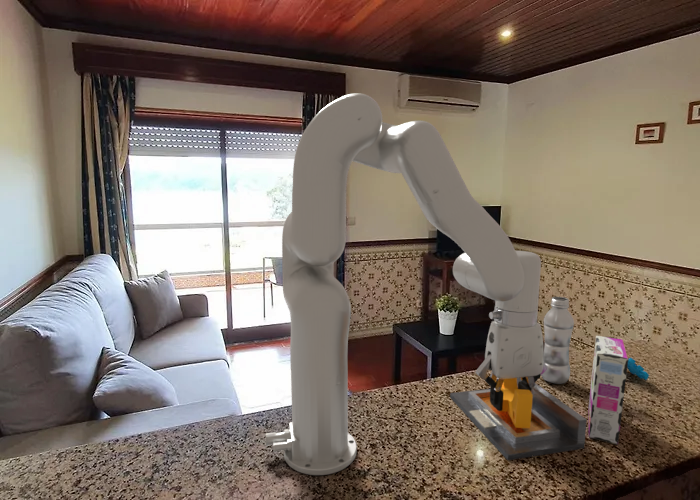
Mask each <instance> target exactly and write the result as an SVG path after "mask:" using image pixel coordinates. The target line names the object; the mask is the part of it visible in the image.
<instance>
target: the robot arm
mask: <svg viewBox="0 0 700 500" xmlns="http://www.w3.org/2000/svg"><path fill="white" fill-rule="evenodd" d="M293 160H294V161H293V168H292V169H293V170H292V191H291V193H292V194H291V212H290V213H289V215H287V217H286V219H285V221H284V224H283V228H282V238H281V247H282V248H281V249H282V250H281V257H282V258H281V259H282V264H281V265H282V269H281V271H282V291H283V297H284V300H285V303H286V305H287V309H288V310H289V315H290V343H289V345H290V348H289V349H290V350H289V351H290V352H289V353H290V357H289V359H290V360H289V361H290V363H289V364H290V382H291V383H290V384H291V387H290V388H291V389H290V391H291V421H292V422H289V423H288V427H289V428H287V429H283V431H279V432H267V433H265V446H266V447H267V446H272V447H273V448H272V449H273V453H274V452H275V453H277V452H282V451H283V457H284V458H283V459H284V460H285V462H286V464H287V465H288V466H289V467H290V468H292V469H293V470H295V471H297V472H298V473H301V474H305V475H308V476H309V475H311V476H325V475H331V474H335V473H337V472H340V471H342V470H344V469H346V468H347V467H349V465H351V464H352V463H353V461H354V460H355V458H356V456H357V454H358V453H357V452H358V451H357V449H358V446H357V441H356V440H355V438H354V437H353V436H352V435H351V433H349V429H348V428H349V427H348V425H349V424H348V423H349V422H348V421H349V414H348V413H349V410H348V408H349V407H348V406H349V405H348V403H349V401H348V396H349V395H348V394H349V393H348V390H349V389H348V386H349V385H348V381H349V380H348V378H349V377H348V370H349V369H348V345H349V344H348V343H349V342H348V341H349V332H350V324H351V323H350V322H351V317H352V316H351V315H352V308H351V301H350V297H349V295H348V293H347V292H348V291H347V290H346V288H345V286H343V284H342V283H341V282H340V281H339V280H338V279H337V278H336V277H335V276H334V263H335V262H336V261H337V260H338V259H339V258H341V256H342V254H343V253H344V250H345V247H346V241H347V231H346V229H347V227H346V223H347V222H346V219H347V218H346V217H347V216H346V215H347V214H346V211H347V210H346V209H347V207H346V205H347V204H346V203H347V202H346V201H347V198H346V197H347V195H346V194H347V183H348V175H349V171H350V167H351V165H352V163H353V162H354V163H357V164H360V165H363V166H366V167H370V168H372V169H376V170H380V171H384V172H387V173H394V174H401V175H402V177H403V179H404V181H405V183H406V184H407V186H408V188H409V190H410V192H411V193H412V195H413V198H414V199H415V201H416V202H417V205H418V206H419V208H420V210H421V212H422V214H423V216H424V217H425V219H426V220H427V221H428V222H429V223H430V224H431V225H432V226H433V227H434V228H436V230H438V231H439V232H441V233H442V234H443V235H445V236H447V237H448V238H450V239H451V240H452V241H454V243H455V244H457V246H458V247H459V248H461V250H462V251H463V253H461V254H460V255H459V256H458V257H456V258H455V261H454V262H453V266H452V275H453V277H454V279H455V280H456V281H457V283H458V284H459V285H460V286H462V287H463V288H465V289H467V290H470V291H471V292H474V293H475V294H479V295H481V296H484V297H485V298H488V299H491V300H493V301H494V302H495V305H494V310H493V311H490V312H489V314H488V317H489V318H490V319H491V320H492V321H491V323H490V326H489V329H488V334H487V339H486V344H485V346H486V347H485V353H484V360H483V362H481V364H480V365H479V366H478V368H477V369H476V370H475V374H476V375H477V376H478V377H479V378H481V379H482V380H483V381H484V382H486V383H487V385H488V386H489V387H490V388H489V389H490V402H491V404H492V405H493V406H494V407H495V408H496V409H497V410H498V411H502V409H503V391H502V390H501V387H502V385H503V382H504V379H512V378H521V381H520V382H519V383H518V389H523V390H530V392H531V389H532V388H533V387H534V386H535V383H536V382H537V381H538V380H539V379H540V378H541V377H542V376H541V375H542V374H543V373H544V372H545V371H546V370H547V369H548V366H547V365H546V364H545V362H544V361H543V355H544V337H543V331H542V330H543V329H542V326H541V324H540V323H539V322H538V314H539V313H538V311H539V301H540V300H539V299H540V298H539V296H540V285H541V270H542V269H541V268H542V259H541V257H540V256H539V254H537V253H535V252H531V251H528V250H527V251H525V250H516V249H515V247H514V245H513V243H512V241H511V239H510V238H509V236H508V235H507V233H506V232H505V231H504V230H503V229H504V228H502V227H501V225H500V224H499V223H498V222H497V221H496V220H495V219H494V218H493V217H492V216H491V215H490V213H488V212H487V211H486V209H485V208H484V207H483V206H482V205H481V204H480V203H479V202H478V201H477V200H476V199H475V198H474V197H473V196H472V193H470V191H469V189H468V186H467V185H466V183H465V180H464V178H463V177H462V175H461V174H460V171H459V169H458V168H457V165H456V163H455V161H454V159H453V156H452V155H451V153H450V151H449V149H448V148H447V145H446V143H445V141H444V139H443V137H442V136H441V134H440V132H439V130H438V129H437V128H436V126H435V125H433V124H432V123H431V122H429V121H426V120H412V121H407V122H404V123H401V124H399V125H397V124H391V123H387V122H384V120H383V113H382V110H381V107H380V105H379V103H378V101H376V100H375V99H374V98H373V97H371V96H370V95H368V94H366V93H360V92H359V93H357V92H356V93H349V94H345V95H342V96H341V97H339V98H337V99H335V100H333V101H332V102H330V103H328V104H327V105H326V106H324V107H323V108H322V109H320V111H318V112H317V114H316V115H315V116H314V117H312V119H311V121H309V123H308V125H307V126H306V128H305V129H304V130H303V133H302V135H301V136H300V139H299V142H298V144H297V147H296V151H295V155H294V159H293ZM488 371H490V375H489V374H488ZM495 381H496V382H495Z"/></svg>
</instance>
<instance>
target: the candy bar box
mask: <svg viewBox="0 0 700 500" xmlns="http://www.w3.org/2000/svg"><path fill="white" fill-rule="evenodd" d="M628 358H629V356H628V354H627V350H626V346H625V341H624V339H621V338H616V337H615V338H614V337H610V336H601V335H595V344H594V353H593V361H592V371H591V381H590V390H589V391H590V392H589V400H588V401H589V402H588V412H587V415H588V419H587V420H588V438H590V439H594V440H598V441H602V442H604V443H609V444H613V445H619V440H620V432H621V423H622V416H623V415H622V414H623V408H624V407H623V406H624V400H625V398H624V397H625V389H626V382H627V373H628V369H627V366H628Z"/></svg>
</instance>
